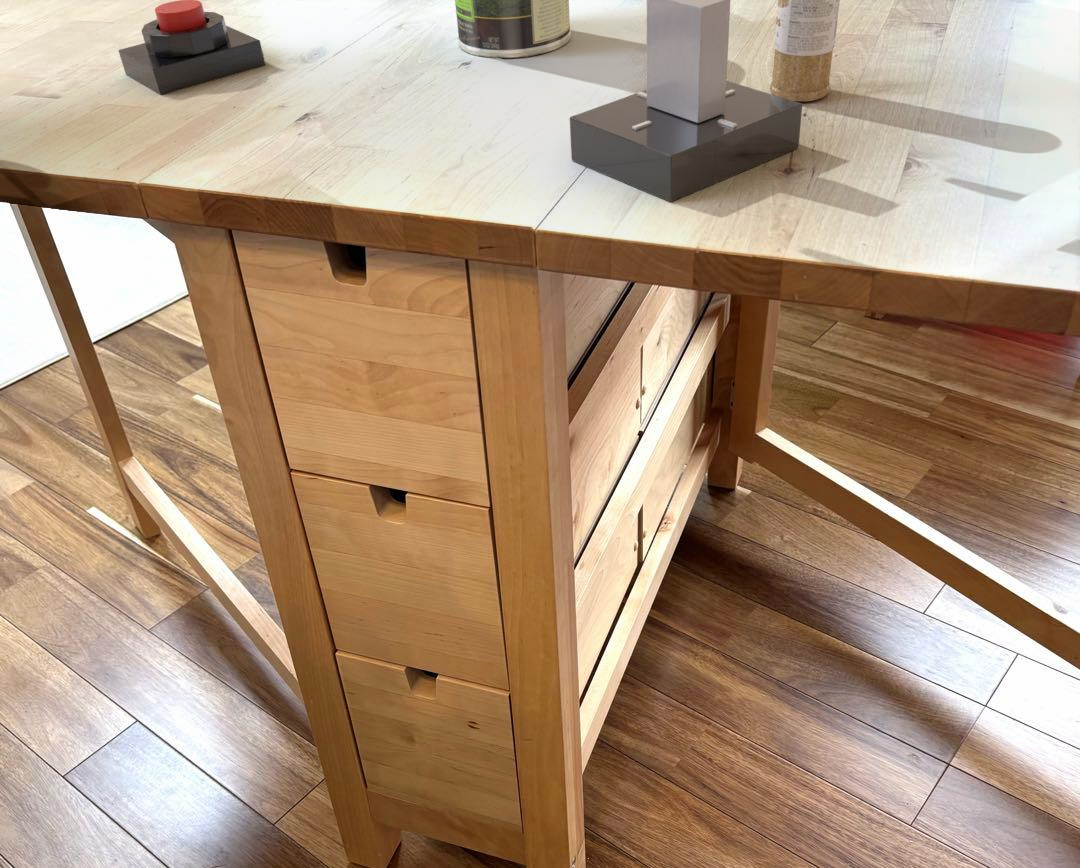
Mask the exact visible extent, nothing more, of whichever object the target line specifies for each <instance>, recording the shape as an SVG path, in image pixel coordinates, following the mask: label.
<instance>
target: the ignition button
mask: <svg viewBox="0 0 1080 868" xmlns="http://www.w3.org/2000/svg"><path fill="white" fill-rule="evenodd" d="M154 12H155V17H156V19H157V20H158V23H159V27H160V30H161V31H170V32H173V31H182V30H188V29H192V28H196V27H200V26H202V25H204V24H206V23H207V22H206V18H205V14H204V12H205V11H204V6H203V3H202V2H201V1H200V0H174V1H169V2H165V3H162V4H159V5H157V6H156V7H155V8H154Z"/></svg>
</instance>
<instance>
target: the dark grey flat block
mask: <svg viewBox="0 0 1080 868" xmlns="http://www.w3.org/2000/svg"><path fill="white" fill-rule="evenodd" d="M802 114H803V103H802V102H799V101H791V100H788V99H785V98H782V97H778V96H775V95H772V93H769V92H765V91H762V90H760V89H759V90H758V89H755V88H752V87H749V86H745V85H742V84H738V83H735V82H732V81H729V80H726V100H725V113H724V114H721V115H718V116H716V117H713V118H711V119H708V120H705V121H703V122H700V123H696V122H693V121H690V120H687V119H684V118H681V117H679V116H676V115H673V114H670V113H667V112H664V111H661V110H658V109H656V108H653V107H650V106H647V89H645V90H644V89H643V90H642V91H638V92H636V93H634V94H631V95H628V96H625V97H623V98H622V97H621V98H620V99H616V100H614V101H611V102H609V103H605V104H602V105H599V106H597V107H594V108H592V109H588V110H586V111H583V112H580V113H577V114H575V115H572V116H571V115H570V117H569V133H570V136H569V137H570V154H571V158H570V159H571V161H572V162H575V163H577V164H580V165H581V166H584V167H586V168H589V169H591V170H593V171H596V172H598V173H601V174H603V175H606V176H608V177H610V178H612V179H615V180H617V181H619V182H622V183H624V184H627V185H628V186H632V187H634V188H636V189H639V190H641V191H643V192H645V193H648V194H650V195H653V196H656V197H658V198H659V199H662V200H665V201H667V202H670V203H671V202H674V201H676V200H679V199H681V198H684V197H686V196H688V195H690V194H693V193H695V192H697V191H701V190H702V189H705V188H707V187H709V186H712V185H714V184H717V183H719V182H721V181H724V180H727V179H729V178H731V177H733V176H735V175H737V174H740V173H742V172H745V171H748V170H749V169H753V168H755V167H757V166H759V165H762V164H764V163H766V162H768V161H771V160H773V159H776V158H778V157H780V156H783V155H785V154H787V153H790V152H792V151H794V150H797V149H799V144H800V135H801V123H802Z"/></svg>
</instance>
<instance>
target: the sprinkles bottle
mask: <svg viewBox="0 0 1080 868" xmlns="http://www.w3.org/2000/svg"><path fill="white" fill-rule="evenodd" d="M840 3H841V2H840V0H777V4H776V5H777V7H776V16H775V17H776V18H775V29H774V32H775V33H774V40H773V41H774V43H773V44H774V45H773V48H774V54H773V68H772V79H771V82H770V84H769V91H770V94H772V95H775V96H778V97H782V98H785V99H788V100H791V101H795V102H802V103H805V102H812V101H817V100H820V99H823V98H825V97H826V96H828V94H829V93H830V91H831V83H830V76H831V69H832V59H833V51H834V48H835V44H836V36H837V29H838V28H837V27H838V19H839V12H840V11H839V10H840Z"/></svg>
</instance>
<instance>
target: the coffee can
mask: <svg viewBox="0 0 1080 868" xmlns="http://www.w3.org/2000/svg"><path fill="white" fill-rule="evenodd" d="M454 3H455V13H456V24H457V33H458V46H459V48H460V50H461V51H462V52H465V53H467V54H469V55H472V56H477V57H481V58H489V59H519V58H526V57H533V56H538V55H543V54H546V53H550V52H553V51H555V50H557V49H560V48H561V47H563V46H565V45H566V44H568V43H569V42H570V40H571V38H572V31H571V21H570V19H571V18H570V0H454Z"/></svg>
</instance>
